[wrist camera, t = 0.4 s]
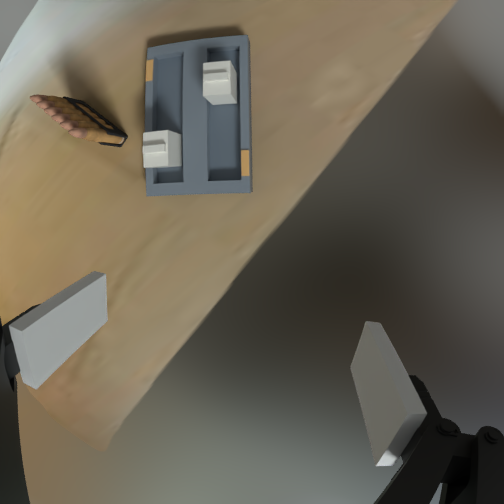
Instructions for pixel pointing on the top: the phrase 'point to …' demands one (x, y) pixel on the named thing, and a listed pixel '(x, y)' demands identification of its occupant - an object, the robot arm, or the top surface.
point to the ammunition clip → (80, 120)
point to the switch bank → (200, 118)
